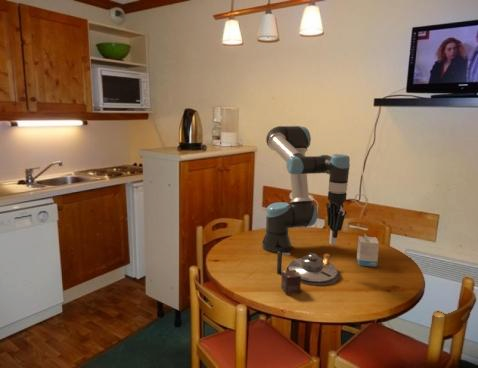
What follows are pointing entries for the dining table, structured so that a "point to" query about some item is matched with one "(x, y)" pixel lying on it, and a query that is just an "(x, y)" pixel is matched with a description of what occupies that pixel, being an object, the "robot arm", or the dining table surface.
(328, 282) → the plinth
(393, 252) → the dining table surface
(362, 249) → the ink box
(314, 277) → the turntable
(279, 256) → the indicator post
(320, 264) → the cover
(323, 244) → the dining table surface
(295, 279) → the box
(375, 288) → the dining table surface
